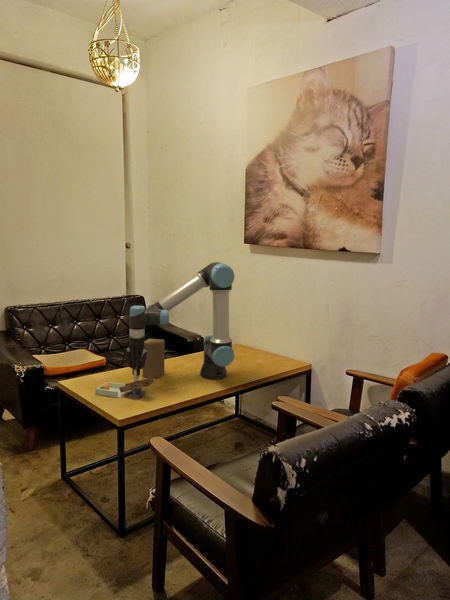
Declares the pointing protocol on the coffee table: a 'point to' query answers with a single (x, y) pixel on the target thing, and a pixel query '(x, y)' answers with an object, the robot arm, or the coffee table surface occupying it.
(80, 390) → the coffee table surface
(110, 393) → the tray
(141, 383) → the lever
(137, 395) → the fulcrum
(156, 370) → the wooden block
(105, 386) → the ball
